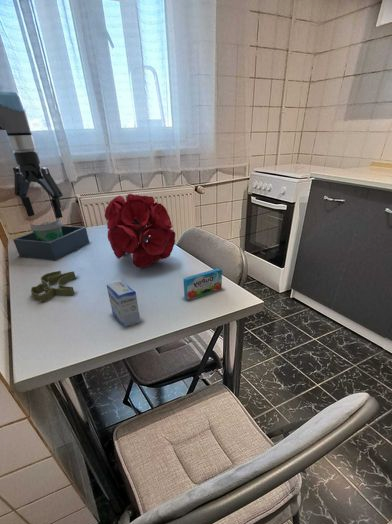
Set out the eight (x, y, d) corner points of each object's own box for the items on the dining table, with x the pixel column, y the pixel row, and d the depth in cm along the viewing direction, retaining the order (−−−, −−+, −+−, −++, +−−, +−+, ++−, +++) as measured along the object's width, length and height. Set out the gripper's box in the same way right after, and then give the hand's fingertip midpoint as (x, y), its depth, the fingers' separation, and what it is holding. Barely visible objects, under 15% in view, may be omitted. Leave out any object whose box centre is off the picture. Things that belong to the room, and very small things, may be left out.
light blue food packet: (187, 300, 82) (186, 280, 78) (184, 298, 83) (183, 278, 79) (221, 289, 87) (222, 269, 83) (218, 287, 88) (218, 267, 84)
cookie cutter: (73, 297, 86) (71, 291, 85) (29, 304, 83) (27, 297, 82) (77, 274, 100) (75, 268, 98) (39, 279, 97) (37, 273, 96)
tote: (19, 256, 116) (12, 239, 112) (56, 240, 133) (52, 224, 129) (55, 260, 112) (49, 242, 108) (89, 242, 128) (85, 227, 124)
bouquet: (104, 281, 111) (132, 261, 85) (82, 217, 107) (105, 176, 81) (154, 270, 122) (192, 249, 96) (136, 212, 118) (171, 174, 92)
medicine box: (112, 314, 77) (105, 284, 72) (128, 309, 79) (122, 279, 74) (124, 327, 72) (118, 295, 67) (141, 321, 74) (135, 290, 69)
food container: (45, 253, 116) (36, 227, 110) (38, 250, 120) (29, 224, 114) (73, 245, 123) (66, 220, 117) (66, 242, 127) (59, 218, 121)
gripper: (61, 150, 101) (78, 216, 114) (6, 150, 108) (27, 212, 121) (46, 152, 95) (65, 221, 108) (-12, 152, 102) (12, 217, 115)
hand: (45, 216), depth 114 cm, fingers open, 13 cm apart
